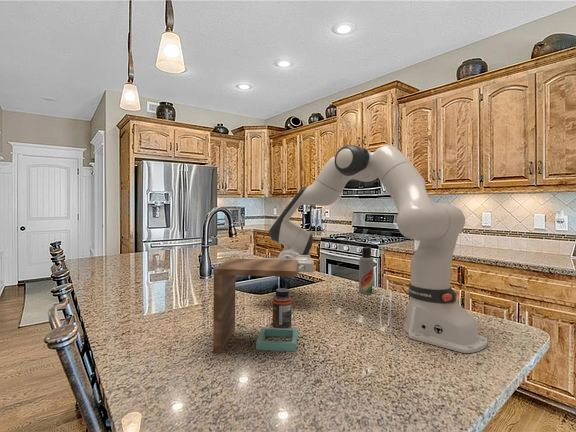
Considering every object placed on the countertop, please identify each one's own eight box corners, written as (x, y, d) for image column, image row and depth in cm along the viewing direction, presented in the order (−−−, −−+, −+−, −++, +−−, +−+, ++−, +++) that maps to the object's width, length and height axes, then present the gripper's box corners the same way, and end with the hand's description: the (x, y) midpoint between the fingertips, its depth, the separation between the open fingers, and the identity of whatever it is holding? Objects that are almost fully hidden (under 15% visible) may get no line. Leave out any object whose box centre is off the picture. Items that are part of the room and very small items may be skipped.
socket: (297, 335, 98) (297, 328, 98) (295, 351, 87) (296, 343, 87) (261, 334, 98) (261, 327, 98) (256, 349, 88) (256, 342, 88)
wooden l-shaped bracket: (297, 331, 100) (298, 260, 100) (294, 356, 84) (295, 271, 84) (228, 329, 102) (229, 258, 101) (213, 352, 86) (213, 268, 85)
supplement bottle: (269, 323, 108) (270, 288, 107) (287, 321, 110) (287, 286, 109) (275, 329, 102) (276, 292, 101) (294, 327, 104) (294, 291, 104)
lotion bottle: (372, 294, 143) (373, 247, 142) (358, 294, 144) (359, 247, 143) (372, 291, 148) (373, 246, 147) (358, 290, 149) (359, 245, 148)
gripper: (261, 253, 131) (255, 259, 117) (314, 255, 129) (314, 261, 116) (260, 269, 131) (254, 277, 117) (313, 271, 130) (313, 279, 116)
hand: (284, 269), depth 117 cm, fingers open, 8 cm apart
